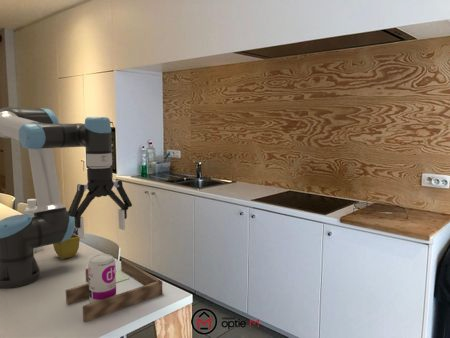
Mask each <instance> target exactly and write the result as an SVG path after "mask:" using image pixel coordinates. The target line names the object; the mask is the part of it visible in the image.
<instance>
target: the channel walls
mask: <svg viewBox="0 0 450 338" xmlns="http://www.w3.org/2000/svg"><path fill="white" fill-rule="evenodd" d="M120 267H121V268H120V270H121V272H122V273H123V274H126V276H129V277H131V278H132V279H133V280H135V281H137V282H138V283H140V284H142V285H143V286H140V287H139V286H138V287H136V288H133V289H130V290H127V291H123V292H121V293H118V294H117V293H116V295H114V296H111V297H108V298H105V299H102V300H99V301H96V302H93V303H90V302H89V303H88V304H84V305H83V306H82V319H83V320H82V321H83V322H84V323H86V322H89V321H92V320H94V319H97V318H101V317H103V316H106V315H109V314H112V313H114V312H116V311H118V310H119V311H120V310H122V309H125V308H127V307H131V306H134V305H136V304H139V303H141V302H144V301H147V300H150V299H152V298H155V297H159V296H161V295H163V281H162V280H161V279H159V278H157V277H156V276H154V275H152V274H150V273H149V272H147V271H145V270H144V269H142V268H140V267H138V266H136V265H135V264H133V263H132V262H130V261H128V260H126V259H124V258H122V259H120ZM85 281H86V282H87V283H84V284H82V285H78V286H73V287H71V288H67V289H65V303H66V305H70V304H74V303H77V302H80V301H83V300H87V299H89V276H88V268H85Z"/></svg>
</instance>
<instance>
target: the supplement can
mask: <svg viewBox="0 0 450 338" xmlns="http://www.w3.org/2000/svg"><path fill="white" fill-rule="evenodd" d="M87 269H88V276H89V298H88V299H89V304H90V303H93V302H96V301H99V300H102V299H105V298H108V297H111V296H114V295H117V283H116V271H117V270H116V261H115V259H114V256H113V255H112V254H106V253H103V254H96V255H94V256H92V257H90V258H89V262H88V263H87Z"/></svg>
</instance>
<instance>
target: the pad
mask: <svg viewBox="0 0 450 338" xmlns="http://www.w3.org/2000/svg"><path fill="white" fill-rule="evenodd" d="M129 279H130V278H129V277H128V275H125V274H124V273H123V272H120V271H118V270H116V284H117V283H121V282H123V281H127V280H129Z"/></svg>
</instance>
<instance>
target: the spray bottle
mask: <svg viewBox="0 0 450 338" xmlns="http://www.w3.org/2000/svg"><path fill="white" fill-rule="evenodd" d="M26 202H27V203H26V204H27V207H26V208H25V209H23V214H29V215H31V217H34V211H35V210H36V209H37V202H36V198H28V199H27V200H26ZM43 248H44V246H42V247H38V248H34V253H37V252H41V251H42V250H43Z"/></svg>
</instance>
